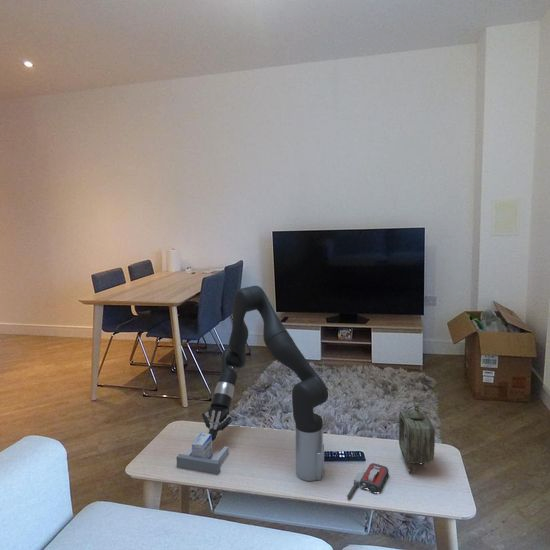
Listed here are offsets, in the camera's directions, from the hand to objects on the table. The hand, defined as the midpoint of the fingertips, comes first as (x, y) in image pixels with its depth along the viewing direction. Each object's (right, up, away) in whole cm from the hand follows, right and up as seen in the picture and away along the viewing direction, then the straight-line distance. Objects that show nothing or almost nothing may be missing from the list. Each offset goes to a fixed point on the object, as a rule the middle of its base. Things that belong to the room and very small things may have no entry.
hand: (210, 440), depth 154 cm
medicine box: (-2, -6, -4) cm, 8 cm away
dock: (-1, -6, -4) cm, 7 cm away
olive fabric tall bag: (+74, -5, -8) cm, 74 cm away
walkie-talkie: (+55, -8, -19) cm, 58 cm away
